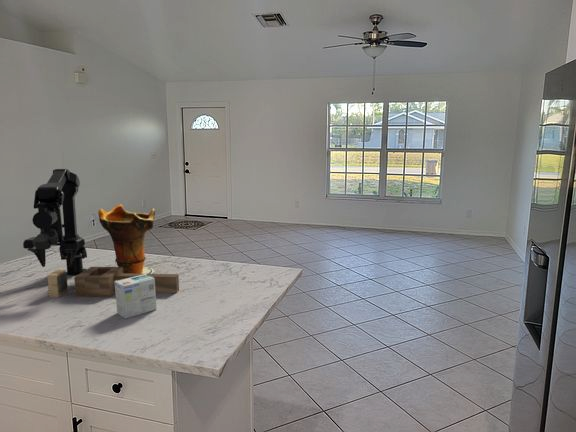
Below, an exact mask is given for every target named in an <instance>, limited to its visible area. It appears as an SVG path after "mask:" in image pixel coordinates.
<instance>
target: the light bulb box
mask: <svg viewBox="0 0 576 432" xmlns="http://www.w3.org/2000/svg"><path fill="white" fill-rule="evenodd" d="M114 283H115V293H114V294H115V303H116V313H117V314H118V315H119V316H121V317H122V318H123V319H125V320H126V319H129V318H133V317H136V316H138V315H142V314H146V313H148V312H152V311H155V310H158V309H157V308H158V307H157V295H156V294H157V293H156V291H155V278H153V277H151V276H149V275H147V274H143V275H139V276H135V277H131V278H127V279H123V280H118V281H114Z"/></svg>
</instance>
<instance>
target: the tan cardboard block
mask: <svg viewBox="0 0 576 432" xmlns="http://www.w3.org/2000/svg"><path fill="white" fill-rule="evenodd" d="M66 272H67V269H56V270H55V271H52V272H51V273H48V274H47V282H48V293H49V298H60V297H61V296H62V295H65V294H66V293H68V288H69V287H68V277H67V275H66Z"/></svg>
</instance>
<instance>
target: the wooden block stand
mask: <svg viewBox="0 0 576 432" xmlns="http://www.w3.org/2000/svg"><path fill="white" fill-rule="evenodd" d="M86 269H87V270H85V271H83V272H82V273H80V274H79V275H74V278H73V279H74V288H75V289H74V290H75V297H84V298H85V297H88V298H91V297H93V298H95V297H97V298H99V297H101V298H106V297H107V298H110V297H112V296H113V295H114V294H116V293H115V283H114V281H118V280H123V279H127V278H131V277H135V276H139V275H143V274H123V267H118V266H89V267H88V268H86ZM147 275H149V276H151V277H153V278H155V291H156V294H162V293H163V294H165V293H167V294H178V292H179V291H180V281H179V280H180V279H179V278H180V277H179V273H152V274H147Z"/></svg>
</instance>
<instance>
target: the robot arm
mask: <svg viewBox="0 0 576 432" xmlns="http://www.w3.org/2000/svg"><path fill="white" fill-rule="evenodd" d="M80 184H81V181H80V178H79V176H78V175H77V174H76V173H74V172H71V171H70V170H69V169H67V168H55V169H53V171H52V174H51V176H50V177H49V179H48V181H47V182H46V183H44V184H40V185H39V186H38V187H37V189H36V190H35V193H34V201H33V209H38V210H37V212H36V213H35V214H34V215H33V216H32V220H31V221H32V224H33V226H35V228H37V229H38V230H39V231H40V232H39V234H37V235H36V236H32V237H29V238H27V239H24V240H23V243H22V247H23V249H26V250H27V251H28V252H31V253H33V254H34V255H35V257H36V258H37V260H38V262H39V263H40V265H41V267H42V268H45V267H46V261H47V259H46V250H49V249H50V248H51V247H52V246H56V247H57V246H59V248H58V249H59V256H60V259H61V261H63V260H64V261H65V263H66V275H70V276H71V275H74V276H77V275H79V274H80V273H82V272H83V271H85V270H87V269H88V268H84V267H83V266H84V265H83V260H84V259H85V258H88V252H87V249H86V247H85V245H86V243H85V239H84V237H81V236H80V235H79V233H78V229H77V227H78V225H77V216H76V215H77V214H76V212H77V211H76V199H75V198H76V196H77V194H78V192H79V188H80V186H81V185H80ZM61 207H62V212H61ZM62 217H63V218H62ZM62 219H63V223H62ZM63 232H64V234H63Z"/></svg>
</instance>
